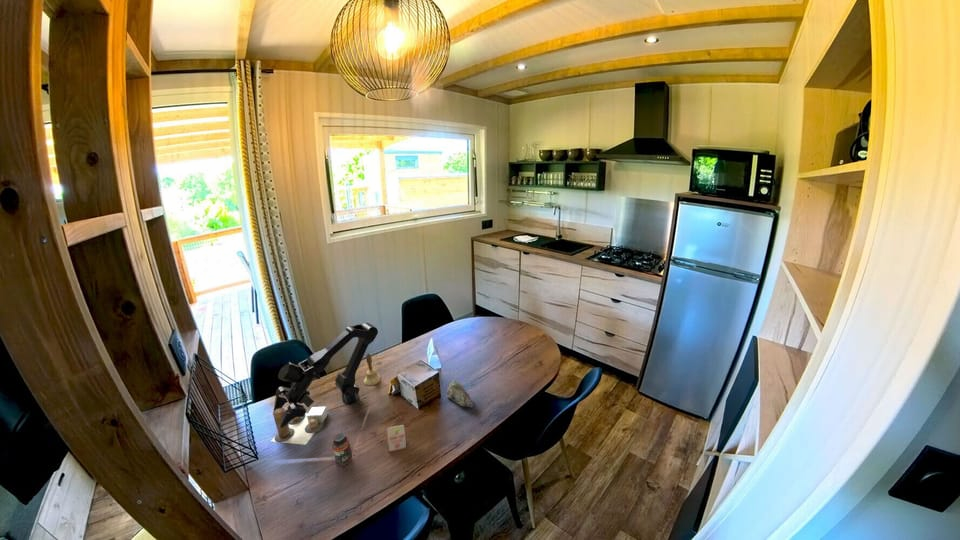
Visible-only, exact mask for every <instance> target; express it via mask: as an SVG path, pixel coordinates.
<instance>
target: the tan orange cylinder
mask: <svg viewBox="0 0 960 540" xmlns="http://www.w3.org/2000/svg"><path fill="white" fill-rule="evenodd" d="M273 411H274V410H273ZM285 411H286V409H285V408H284V407H282V408H278V409H276V410H275V411H274V412H272V415H273V419H274V423H275V426H276V431H277V433H278V434H279V438H280V439H284V438H287V437H288V436H289V435H290V429H289V425H288V424H286V425H285V426H284V427H283V428H281V427H280V425H281V422H282V419H283V416H284V413H285Z"/></svg>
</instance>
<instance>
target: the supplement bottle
mask: <svg viewBox="0 0 960 540" xmlns="http://www.w3.org/2000/svg"><path fill="white" fill-rule="evenodd" d="M331 446H332V450H333V451H332V452H333V456H334V460H335V464H336V465H337V466H341V467H342V466H346V465H347V464H349V463H350V462H351V460H352V458H353V453H352V446H351V442H350V438H349V437H348V436H346V434H345V433H344V432H339V433H336V434H335V435H334V437H333V441H332V443H331Z"/></svg>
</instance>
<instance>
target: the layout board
mask: <svg viewBox="0 0 960 540" xmlns="http://www.w3.org/2000/svg"><path fill="white" fill-rule="evenodd" d="M308 413H309V412H306V414H305V415H304V417H296V418H294V419H292V420H291V421H290V422H289V423H288V425H289V429H290V435H289V436H288V437H287V438H284V439H280V438H279V434H278V432H277V433H276V435H274V437H273V438H272V439H271V440H270V442H273V443H282V444H284V443H285V444H294V445H296V444H297V445H303V446H304V445H305V446H306V445H307V444H308V443H309V441H310V440H311V438H312V437H313V436H314V434H315V433H317V432H320V430H322V429H323V427H324V425H325V424H324V421H323V422H321V423H318V421H317V418H313V419H311V420H310V421H309V423H308V418H307V415H308ZM327 416H328V415H327ZM327 416H326V417H325V419H326V418H327Z"/></svg>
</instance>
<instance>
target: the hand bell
mask: <svg viewBox="0 0 960 540" xmlns="http://www.w3.org/2000/svg"><path fill="white" fill-rule="evenodd" d="M365 360H366V363H367V367H368V370H367V371H366V376H365V378H364V379H363V384H364V385H366V386H374V385H376V384H378V383H379V382H380V381H381V376H380V375H379V374H377V371H376V369H375V368H373V366H372V364H373V363H372V361H373V359H372V356H371V354H370V353H369V352H367V354H366V357H365Z"/></svg>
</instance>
